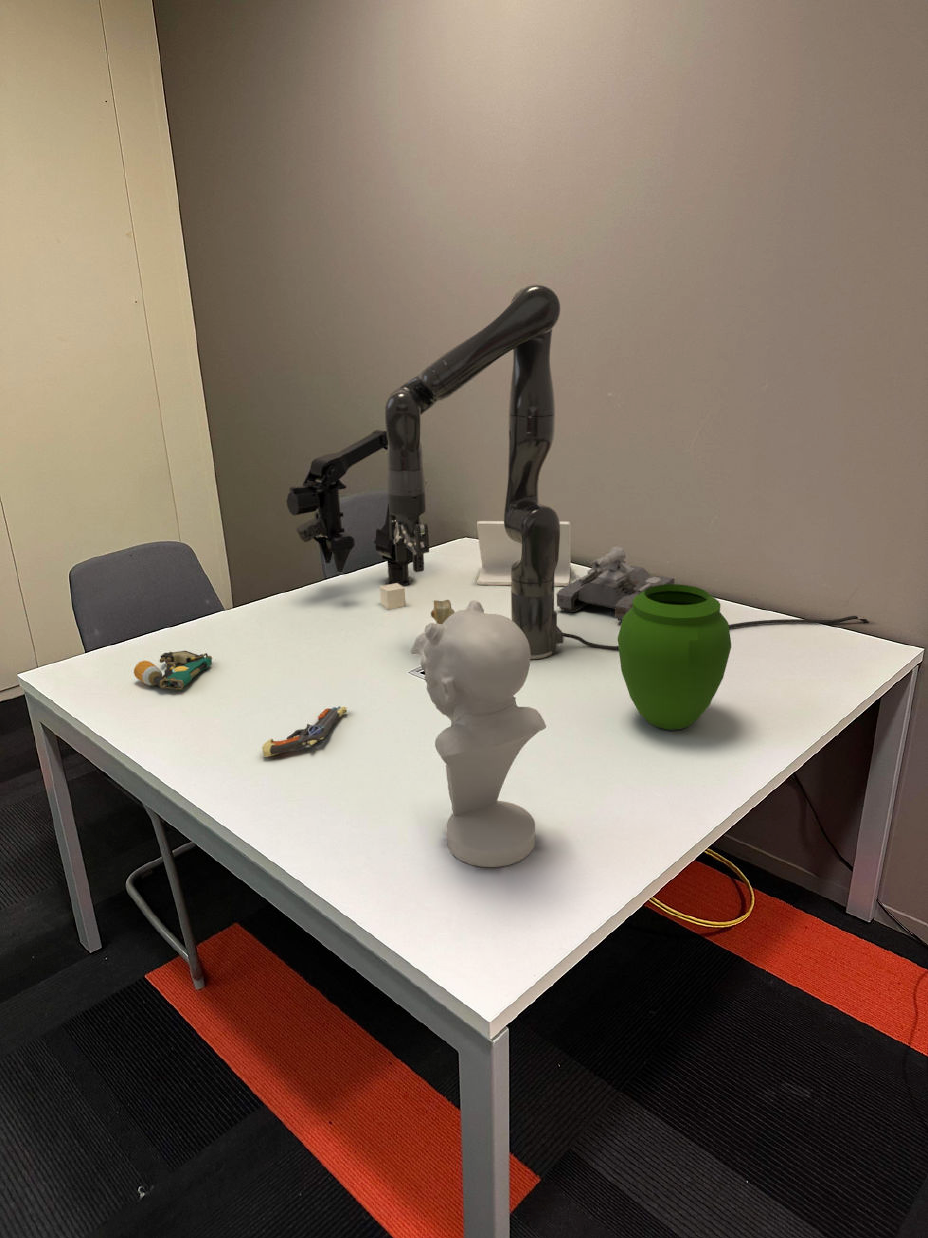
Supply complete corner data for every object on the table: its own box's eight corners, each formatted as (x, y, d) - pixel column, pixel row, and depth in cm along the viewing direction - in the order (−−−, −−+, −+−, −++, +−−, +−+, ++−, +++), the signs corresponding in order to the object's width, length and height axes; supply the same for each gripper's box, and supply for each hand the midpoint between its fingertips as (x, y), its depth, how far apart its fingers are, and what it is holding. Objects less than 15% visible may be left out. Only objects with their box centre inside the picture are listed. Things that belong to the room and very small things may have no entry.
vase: (737, 711, 158) (749, 586, 150) (704, 757, 143) (715, 621, 134) (638, 689, 168) (643, 571, 160) (597, 730, 153) (601, 602, 144)
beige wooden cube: (398, 600, 222) (397, 582, 220) (405, 606, 218) (404, 587, 216) (381, 604, 220) (379, 586, 218) (388, 609, 216) (387, 591, 214)
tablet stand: (569, 585, 229) (570, 524, 223) (476, 584, 232) (475, 523, 226) (570, 566, 246) (571, 508, 240) (484, 564, 249) (483, 507, 243)
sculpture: (458, 662, 183) (456, 596, 178) (460, 676, 176) (457, 608, 171) (431, 663, 183) (428, 597, 177) (431, 677, 176) (428, 609, 171)
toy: (603, 584, 229) (605, 530, 224) (673, 597, 218) (677, 540, 213) (555, 612, 210) (556, 553, 205) (630, 627, 199) (633, 566, 194)
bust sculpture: (481, 772, 140) (476, 569, 128) (565, 848, 120) (569, 617, 108) (392, 800, 134) (378, 588, 121) (465, 886, 114) (457, 642, 101)
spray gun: (177, 659, 191) (231, 671, 185) (120, 684, 176) (176, 698, 171) (176, 641, 190) (230, 653, 184) (118, 665, 175) (174, 678, 169)
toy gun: (257, 746, 146) (311, 744, 144) (298, 704, 164) (347, 701, 161) (260, 761, 146) (314, 759, 144) (300, 717, 164) (349, 715, 162)
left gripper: (287, 505, 220) (293, 563, 226) (309, 520, 204) (315, 582, 210) (328, 499, 225) (333, 556, 230) (353, 514, 209) (357, 574, 215)
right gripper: (375, 486, 179) (380, 561, 184) (404, 498, 167) (408, 578, 173) (408, 482, 182) (411, 555, 188) (438, 494, 170) (441, 572, 176)
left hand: (333, 567), depth 221 cm, fingers open, 9 cm apart
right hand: (409, 566), depth 180 cm, fingers open, 8 cm apart
